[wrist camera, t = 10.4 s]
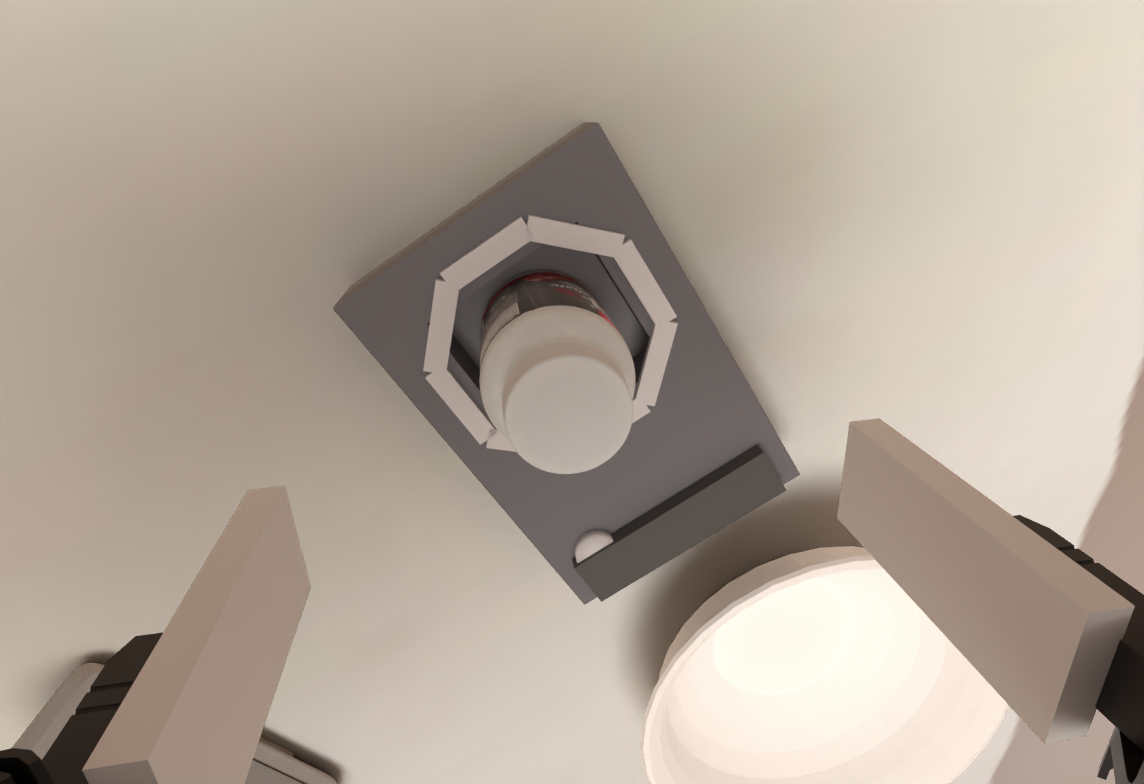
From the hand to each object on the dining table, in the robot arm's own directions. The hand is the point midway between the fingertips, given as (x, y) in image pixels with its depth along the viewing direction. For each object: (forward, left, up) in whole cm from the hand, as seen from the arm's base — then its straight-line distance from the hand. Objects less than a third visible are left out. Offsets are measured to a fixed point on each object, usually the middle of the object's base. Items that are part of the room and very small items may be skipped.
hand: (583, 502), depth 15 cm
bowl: (+24, +1, -16) cm, 29 cm away
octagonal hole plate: (+3, 0, -16) cm, 16 cm away
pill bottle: (0, 0, -15) cm, 15 cm away
